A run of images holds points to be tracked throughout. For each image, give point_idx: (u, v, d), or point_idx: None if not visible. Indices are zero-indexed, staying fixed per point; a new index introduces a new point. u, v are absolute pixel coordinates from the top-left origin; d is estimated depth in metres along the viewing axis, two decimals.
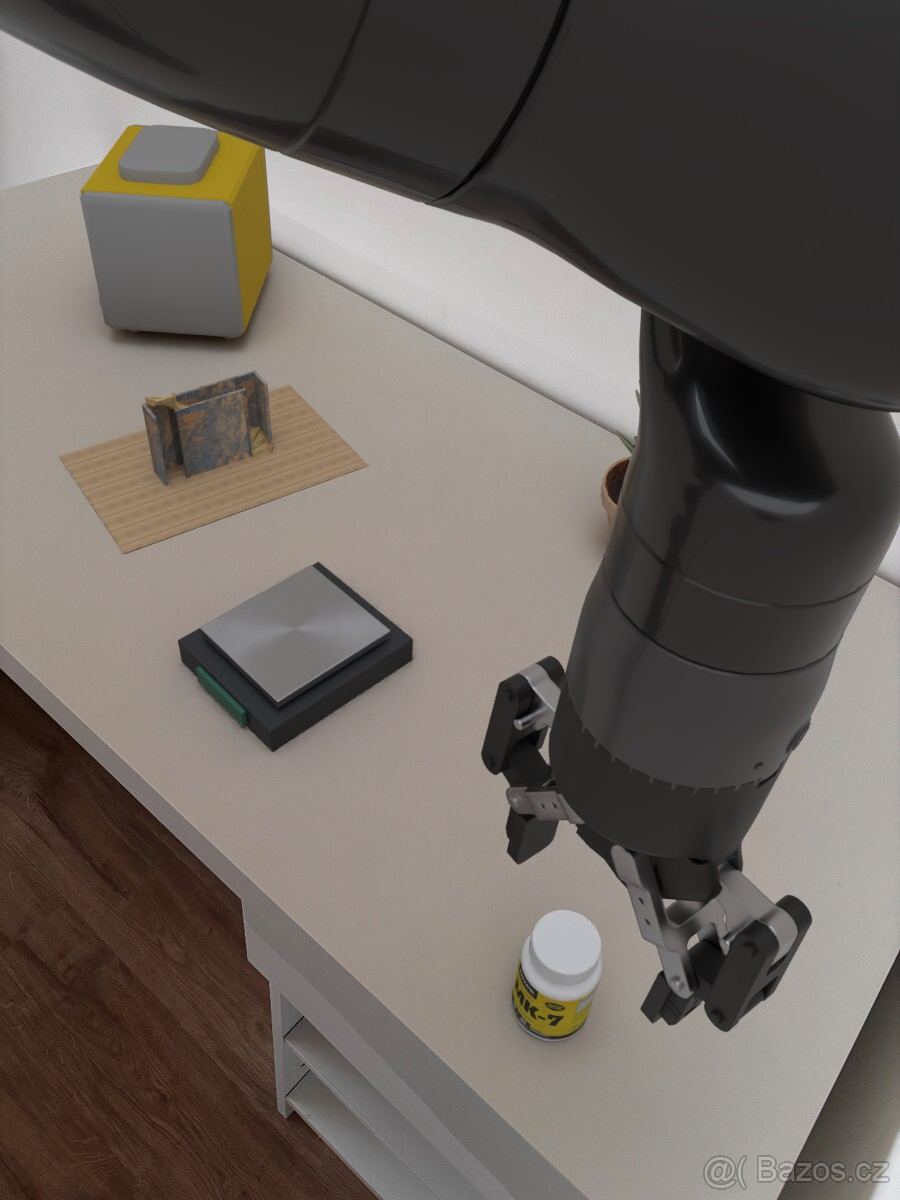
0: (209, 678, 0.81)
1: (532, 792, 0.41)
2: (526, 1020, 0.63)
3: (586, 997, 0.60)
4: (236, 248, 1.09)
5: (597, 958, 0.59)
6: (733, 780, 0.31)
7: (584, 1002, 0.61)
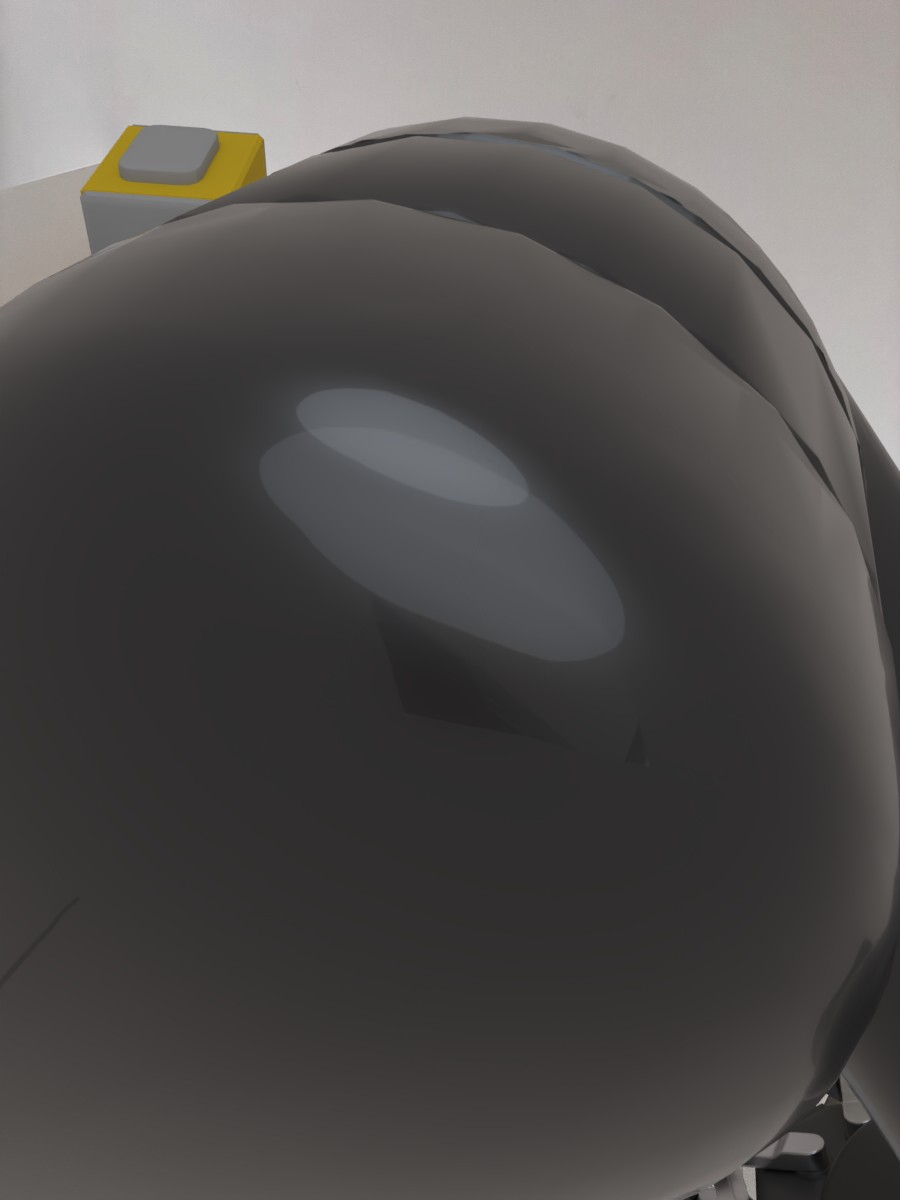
0: None
1: None
2: None
3: None
4: None
5: None
6: None
7: None
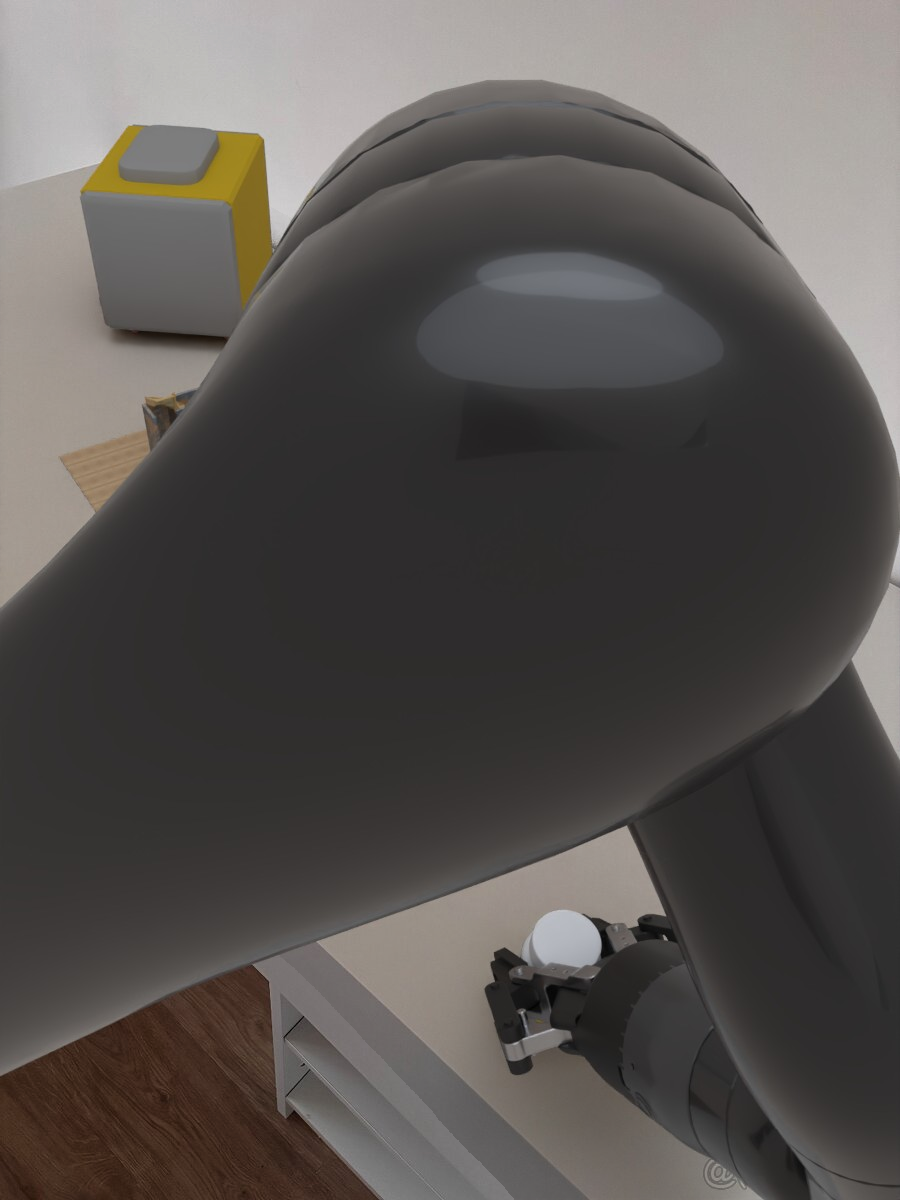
0: None
1: (632, 933, 0.58)
2: None
3: None
4: (236, 248, 1.09)
5: (597, 958, 0.59)
6: (626, 1047, 0.47)
7: None
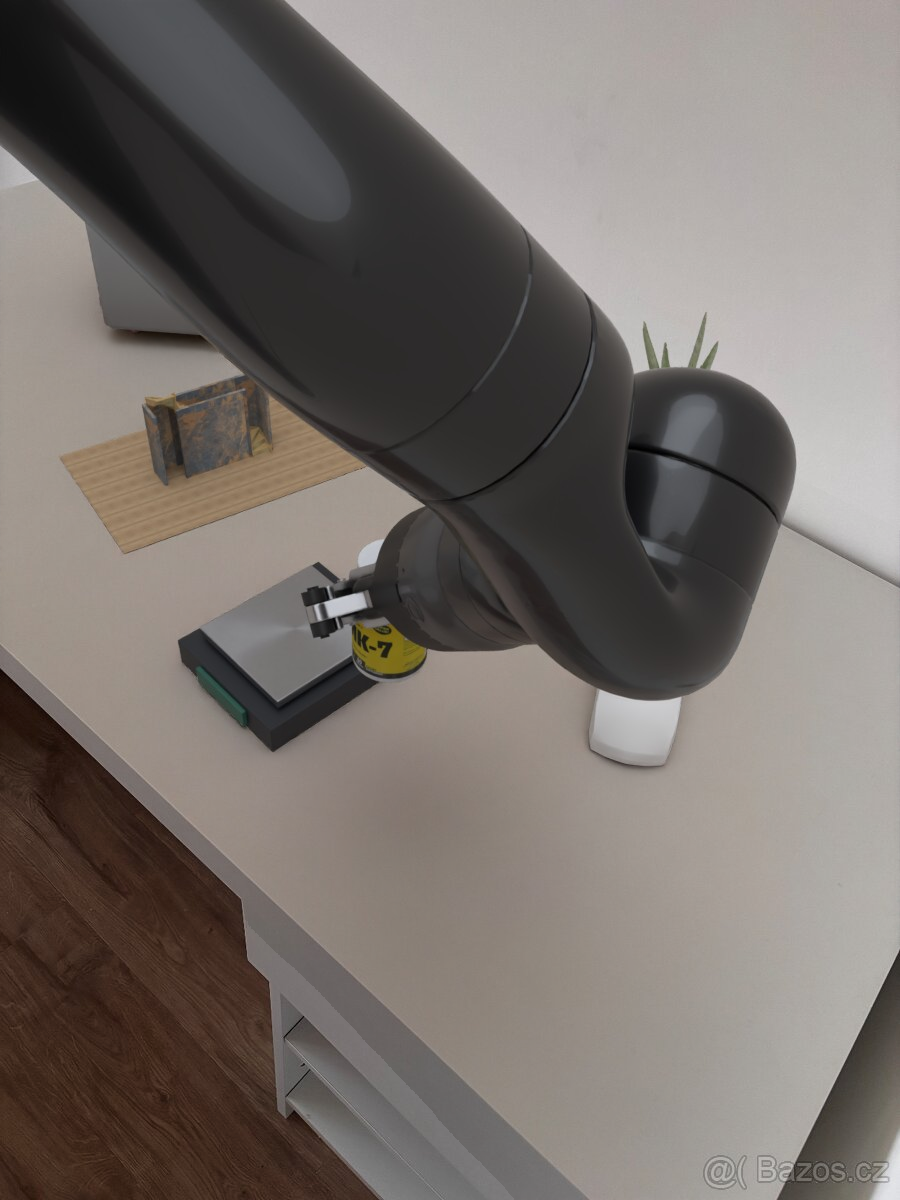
0: (209, 678, 0.81)
1: None
2: (361, 658, 0.65)
3: None
4: None
5: None
6: (400, 558, 0.48)
7: None
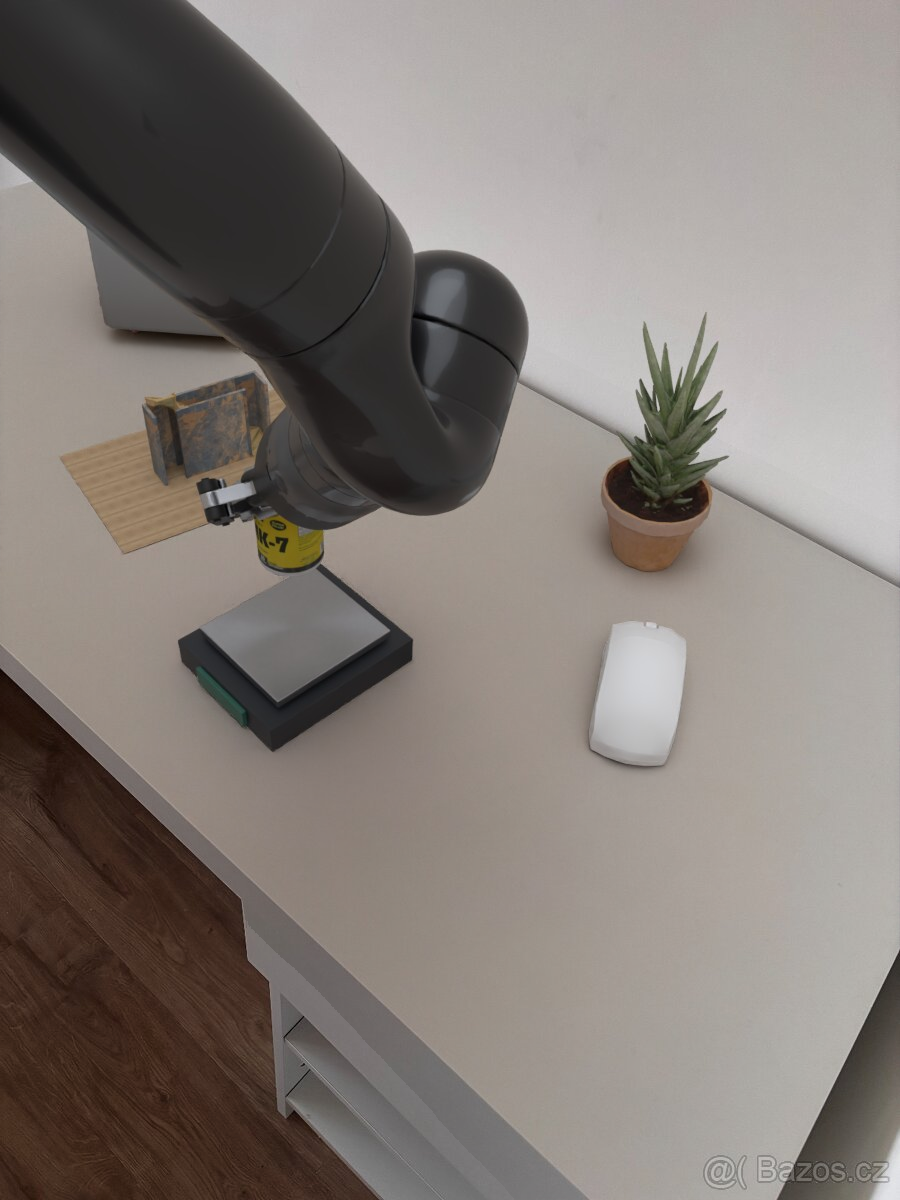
0: (209, 678, 0.81)
1: None
2: (264, 555, 0.74)
3: None
4: None
5: None
6: (268, 442, 0.58)
7: None
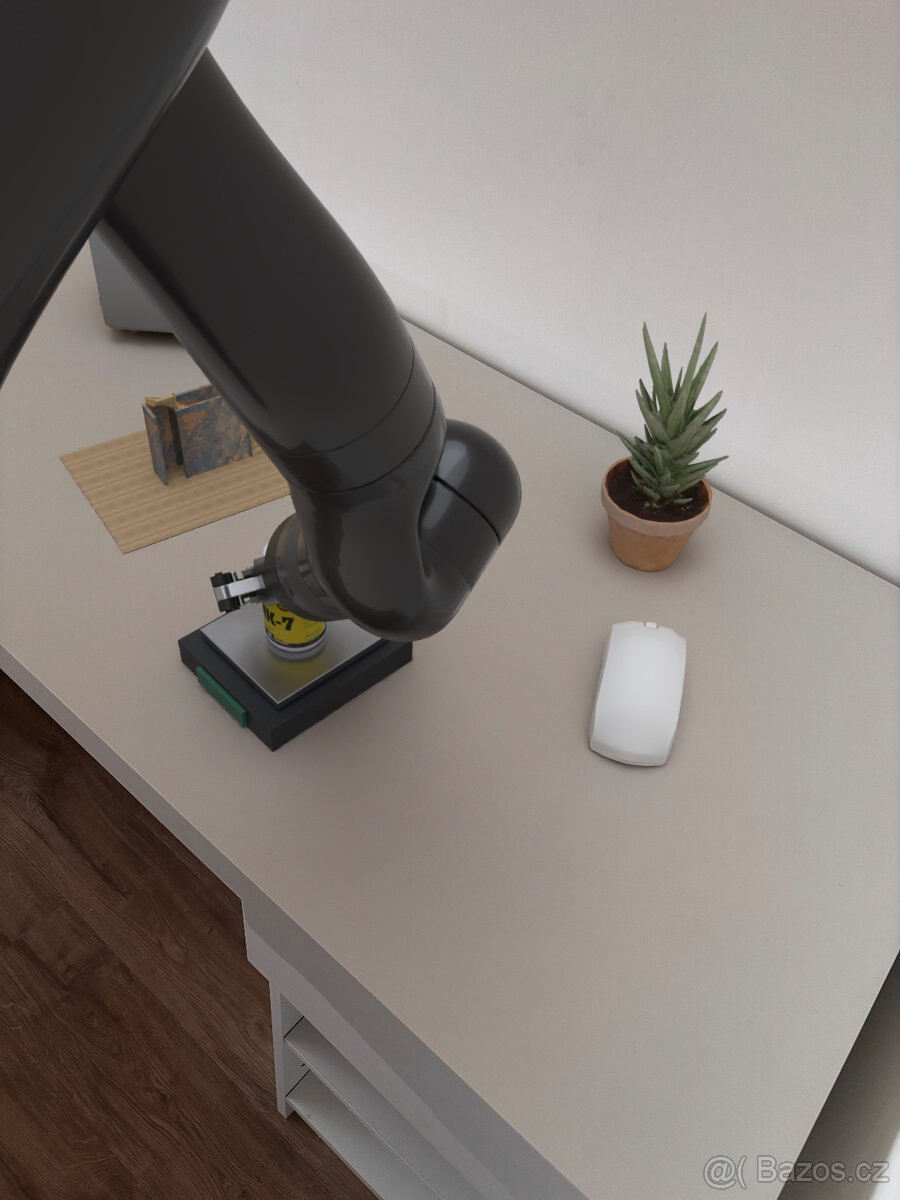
0: (209, 678, 0.81)
1: None
2: (271, 631, 0.80)
3: None
4: None
5: None
6: (277, 549, 0.64)
7: None
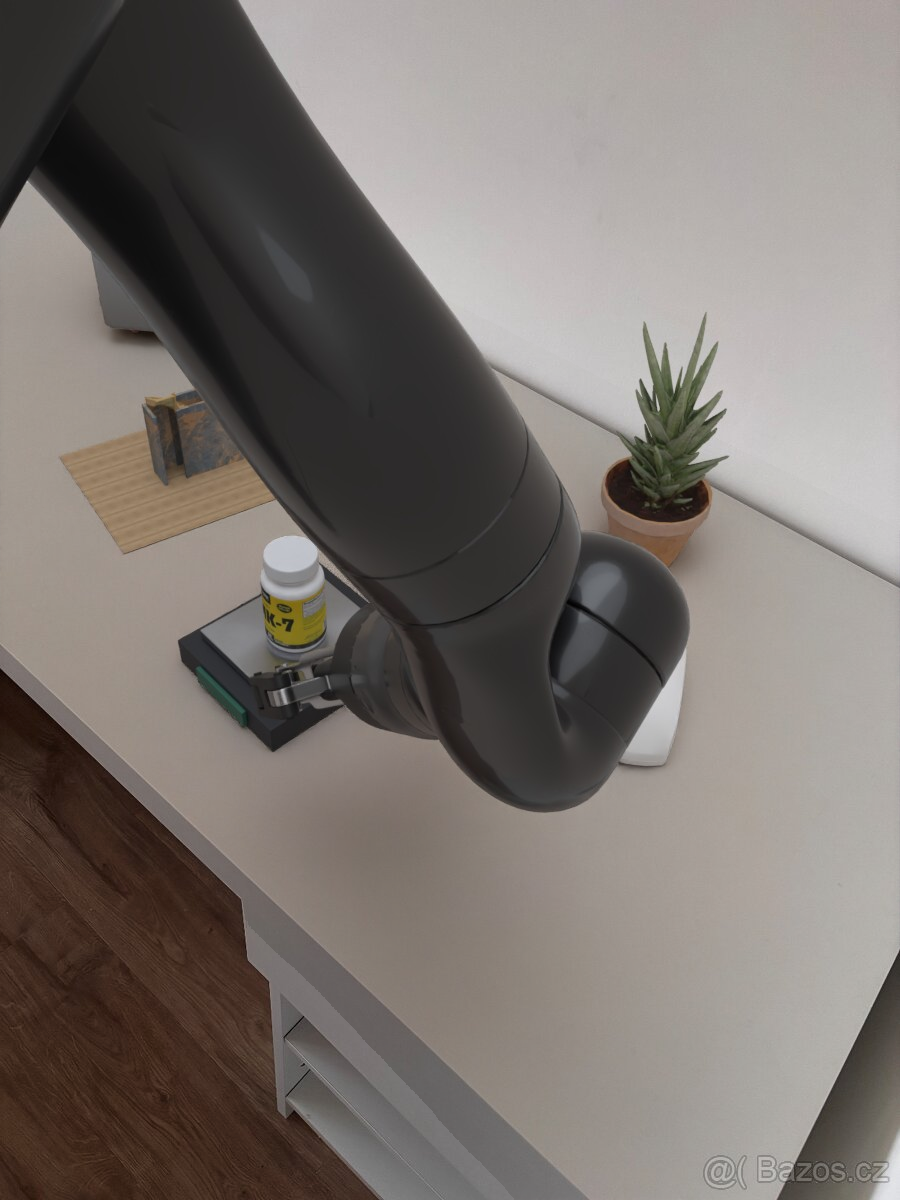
0: (209, 678, 0.81)
1: None
2: (271, 632, 0.80)
3: (308, 600, 0.77)
4: None
5: (312, 563, 0.76)
6: (353, 655, 0.54)
7: (308, 606, 0.78)
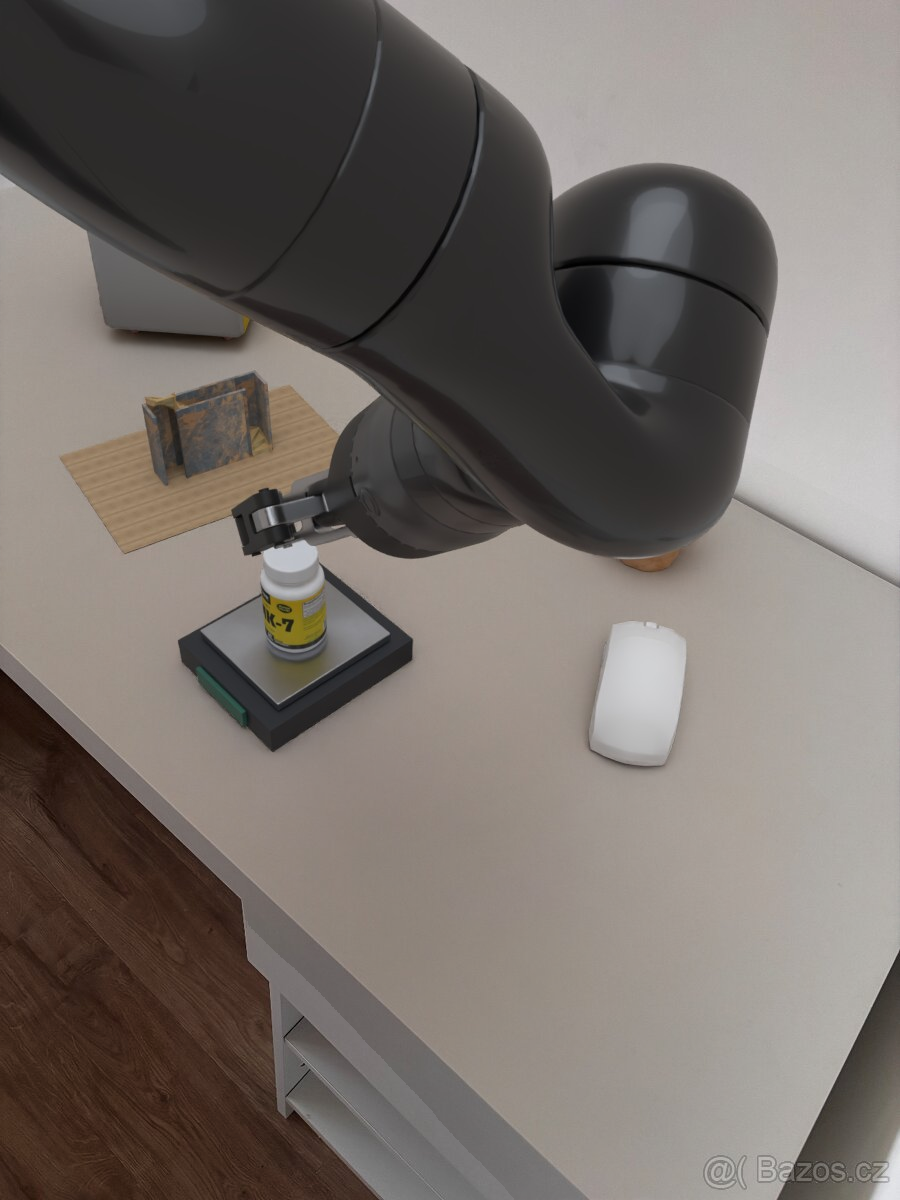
0: (209, 678, 0.81)
1: None
2: (271, 633, 0.80)
3: (308, 600, 0.77)
4: None
5: (312, 563, 0.76)
6: (354, 446, 0.44)
7: (308, 606, 0.78)
